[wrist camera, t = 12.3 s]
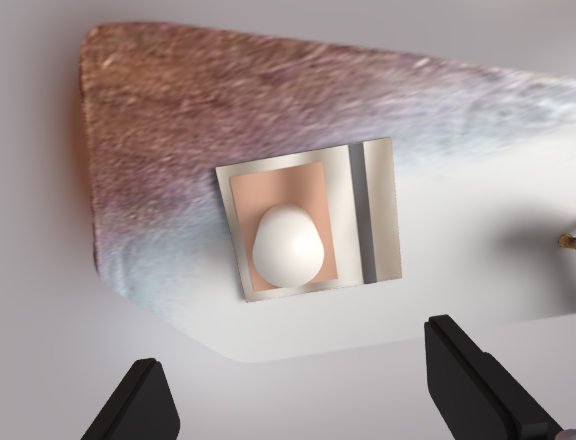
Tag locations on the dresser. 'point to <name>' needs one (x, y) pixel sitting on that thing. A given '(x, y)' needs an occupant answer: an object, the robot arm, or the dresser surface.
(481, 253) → the dresser surface
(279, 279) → the white rounded cylinder
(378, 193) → the board
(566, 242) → the lion figurine
